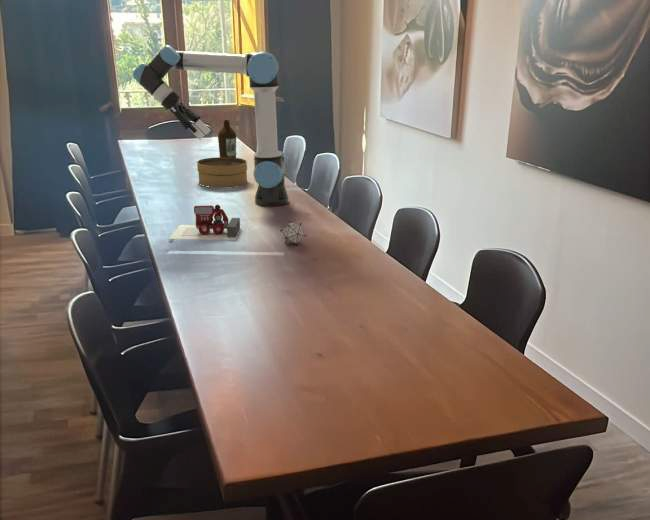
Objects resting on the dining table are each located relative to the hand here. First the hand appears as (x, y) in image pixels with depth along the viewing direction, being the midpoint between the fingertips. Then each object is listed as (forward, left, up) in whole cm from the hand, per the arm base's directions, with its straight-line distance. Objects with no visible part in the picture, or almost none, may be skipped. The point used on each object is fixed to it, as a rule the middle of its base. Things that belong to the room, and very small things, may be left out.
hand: (205, 135), depth 257 cm
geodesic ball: (-39, +45, -32) cm, 67 cm away
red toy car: (-8, +36, -31) cm, 48 cm away
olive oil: (+8, -106, -32) cm, 111 cm away
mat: (-6, +36, -32) cm, 48 cm away
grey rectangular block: (-16, +36, -31) cm, 50 cm away
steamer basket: (+3, -52, -32) cm, 61 cm away
